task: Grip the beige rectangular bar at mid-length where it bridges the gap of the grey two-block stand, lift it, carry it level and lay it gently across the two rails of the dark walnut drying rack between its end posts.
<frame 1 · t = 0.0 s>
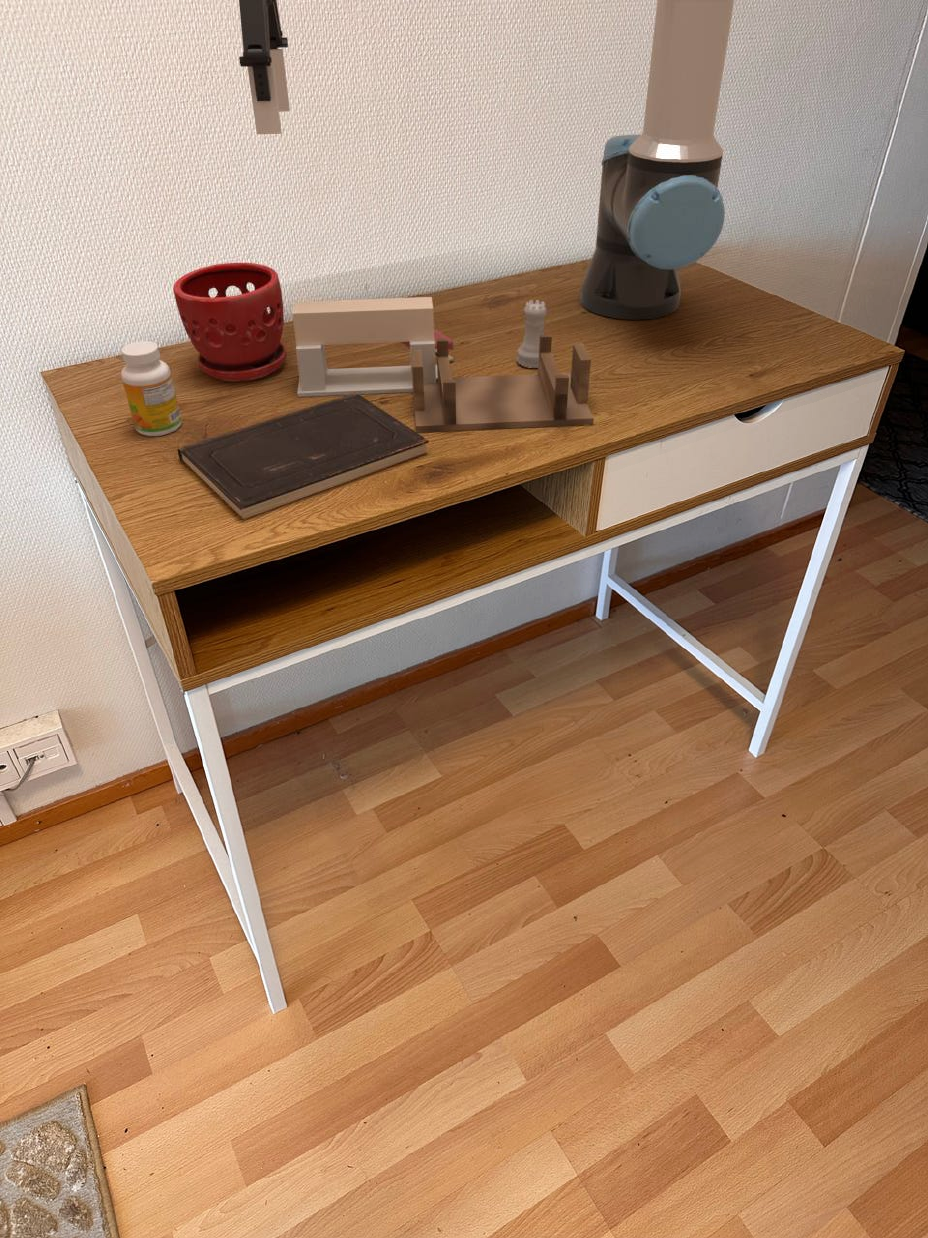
hand: (274, 121, 104), 28 cm above the table, tool pointing down, fingers open, 13 cm apart
rook chess piece: (532, 364, 118), on the table
hardcover book: (305, 462, 99), on the table
plant pot: (242, 370, 117), on the table
popsicle: (426, 348, 124), on the table
supplement bottle: (159, 428, 105), on the table
beige rectangular bar: (365, 336, 110), point 6 cm above the table, touching stand
rack: (498, 403, 109), on the table
stand: (369, 382, 114), on the table
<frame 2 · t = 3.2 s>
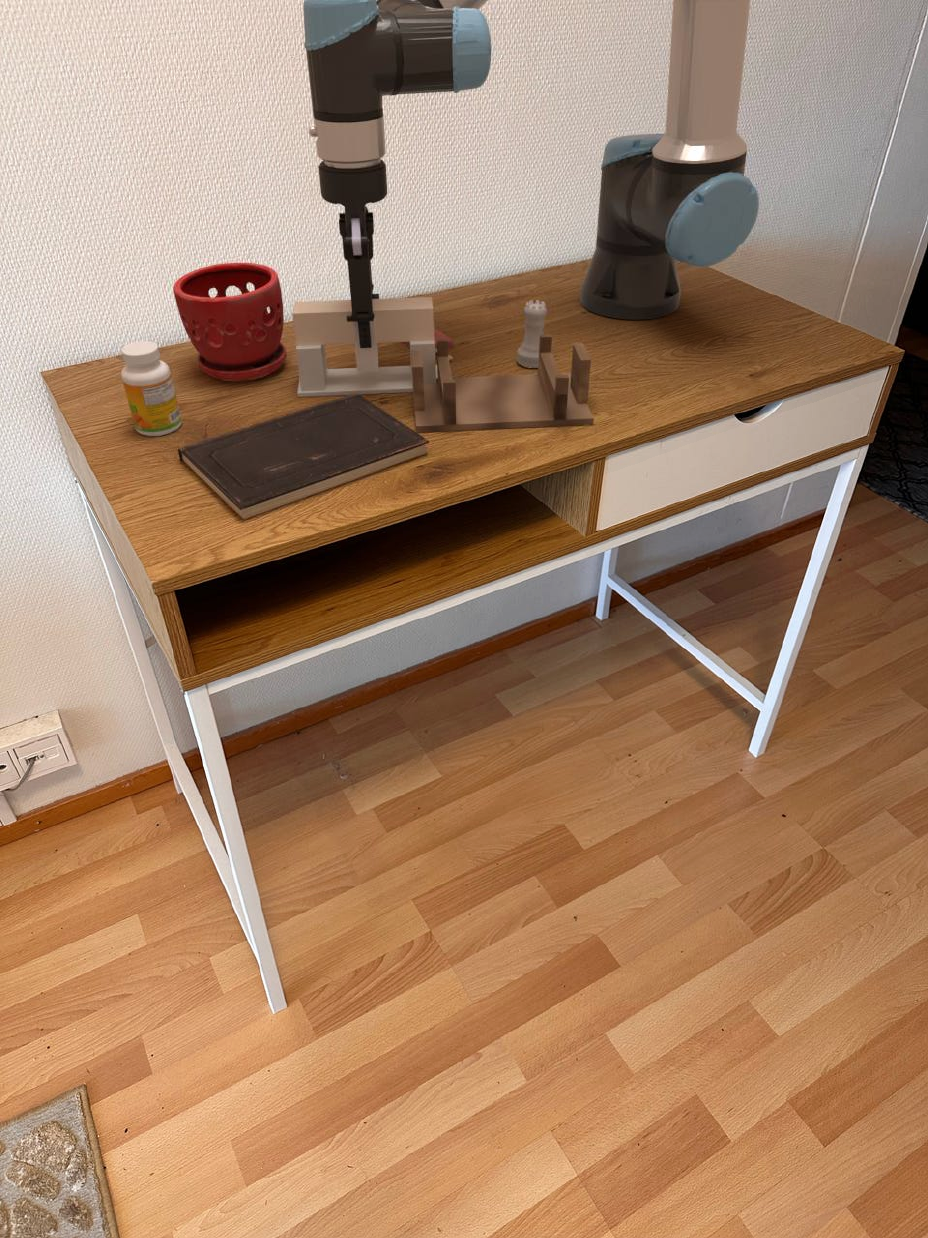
hand: (367, 361, 112), 3 cm above the table, tool pointing down, fingers closed on beige rectangular bar, 4 cm apart
beige rectangular bar: (365, 336, 110), point 6 cm above the table, touching gripper, stand
everything else where it was.
when the fingers open (2 cm above the table, at t = 8.4 s): beige rectangular bar drops 1 cm, resting on rack.
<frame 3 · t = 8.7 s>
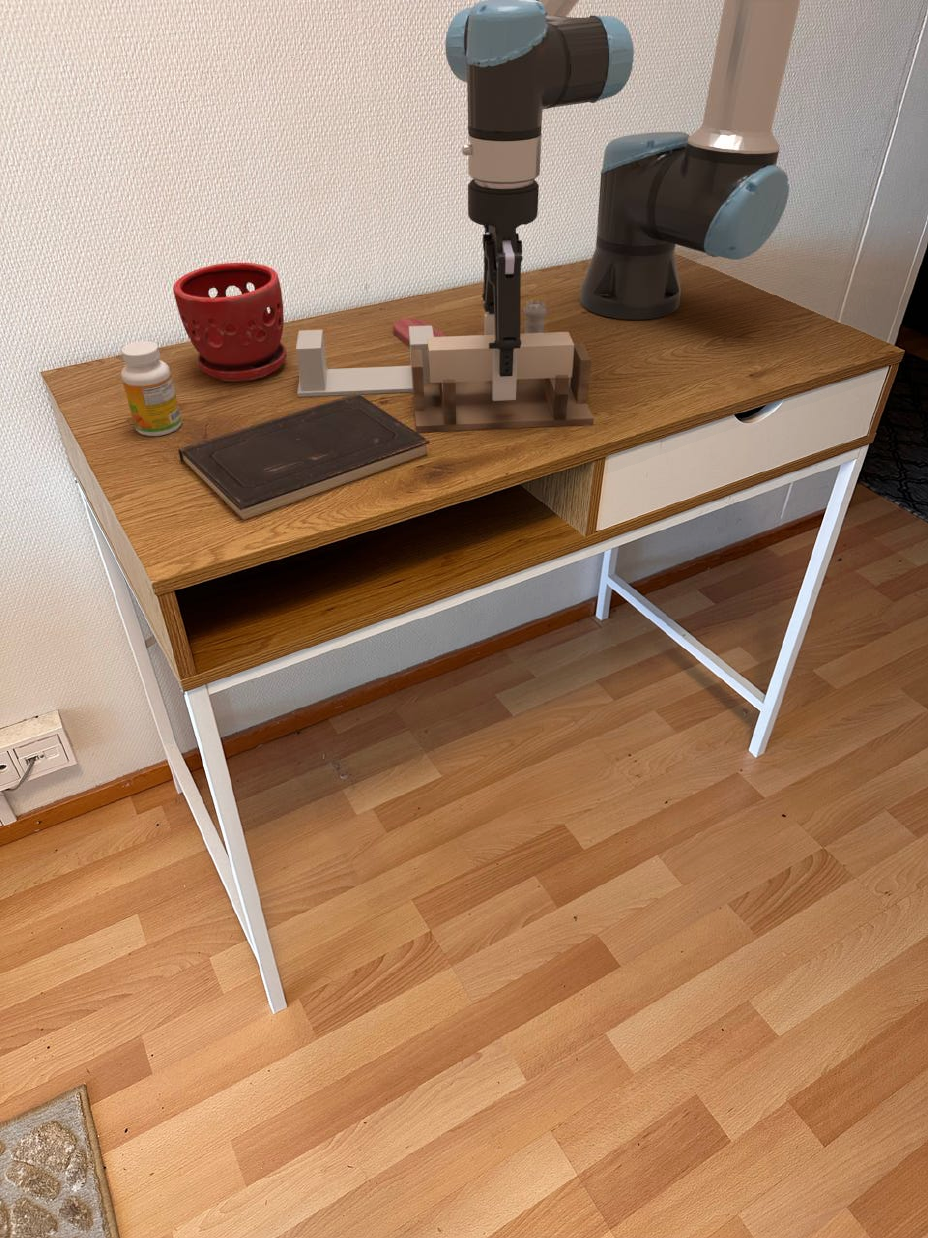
hand: (499, 381, 107), 3 cm above the table, tool pointing down, fingers open, 9 cm apart
beige rectangular bar: (499, 373, 106), point 4 cm above the table, touching rack
everything else where it was.
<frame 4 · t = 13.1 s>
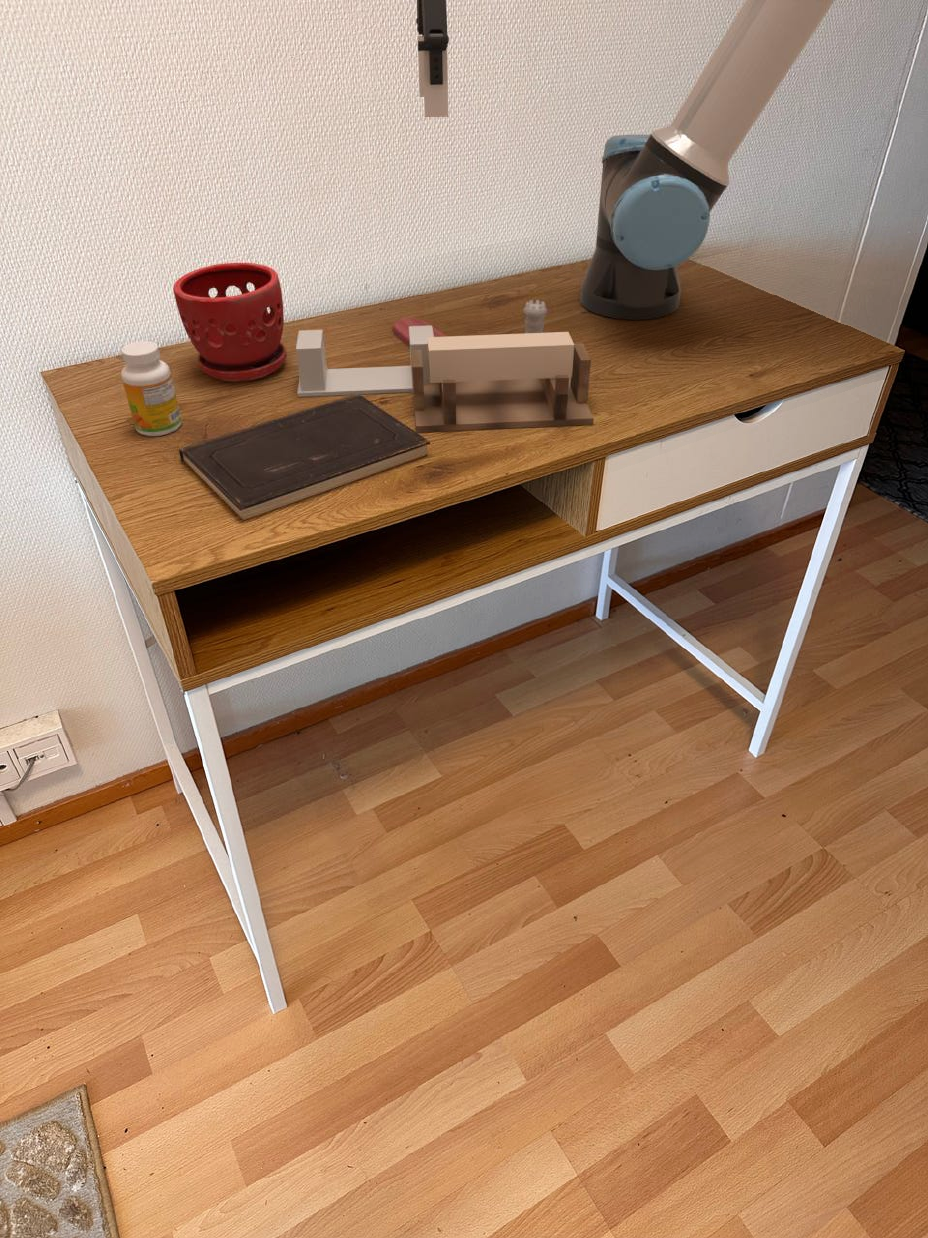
hand: (433, 106, 108), 29 cm above the table, tool pointing down, fingers open, 13 cm apart
nothing on the table moved.
at the end: beige rectangular bar inside the target area on the rack (0.0 cm from its centre), point 4.0 cm above the rack's base; beige rectangular bar touching rack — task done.
